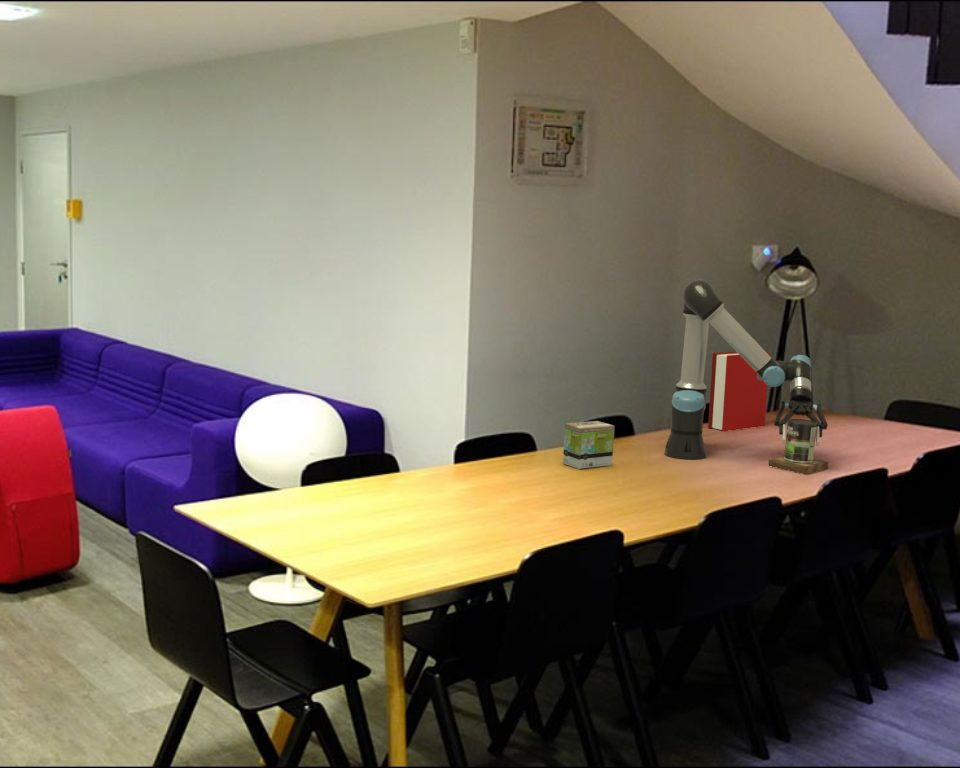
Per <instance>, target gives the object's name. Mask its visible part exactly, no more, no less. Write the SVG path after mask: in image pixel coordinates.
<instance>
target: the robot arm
mask: <svg viewBox="0 0 960 768" xmlns="http://www.w3.org/2000/svg"><path fill="white" fill-rule="evenodd" d="M717 293H718V292H717V288H716V286H715V285H714V284H713V282H712V281H710V280H709V279H706V278H702V277H701V278H695V279H693V280H691V281H689V282H688V283H687V285H686V287H685V288H684V290H683V295H682V296H683V297H682V298H683V305H682V315H683V316H684V317H685V330H684V338H683V339H684V340H683V350H682V351H683V352H682V361H681V369H680V370H681V373H680V380H679V381H678V382H677V383H676V385H675V390H674V391H675V392H674V393H673V395H672V399H671V404H672V405H671V416H670V417H671V418H670V420H671V421H670V434H669V436H668V439H667V441H666V444H665V446H664V455H665V456H666V457H667V456H668V457H670V458H675V459H683V460H699V459H703V458H705V457H707V456H706V455H707V449H706V446H705V441H704V437H703V429H704V428H703V427H704V415H705V414H704V413H705V410H706V407H707V406H706V405H707V402H706V401H707V400H706V399H707V389H708V387H707V386H706V384H705V382H704V381H705V379H704V377H705V369H706V368H705V367H706V360H707V359H706V358H707V357H706V356H707V348H708V347H707V346H708V338H709V326H710V325H711V326H712V328H713V329H714V330H715V331H716V332H717V333H718V334H719V335H720V336H721V337H722V338H723V339H724V340H725V341H726V342H727V344H729V346H730V347H731V348H733V350H735V351H734V352H737V353H738V354H739V355H740V356H741V357H742V358H743V359H744V360H745V361H746V362H747V363H748V364H749V365H750V366H751V367H752V368H753V369H754V370H755V371H756V372H757V379H758V380H763V381H764V382H765V383H766V384H767V385H768V386H767V387H771V388H776V387H780V386H781V385H782V384H783V383H784V382H789V402H786V401H783V400H782V401H781V404H780V408H779V410H778V412H777V415H776V417H775V419H774V421H773V422H774V423H773V426H774V427H778V429H779V430H778V431H779V432H778V433H779V435H781V438H782V439H781V444H782V445H783V444H786V425H787V424H788V422H787V420H789V419H792V417H793V416H795V415H796V416H806V417H807V419H808V420H811V421H814V422H817V429H816V438H815V446H816V447H819V445H820V438H822V437H823V431H824V430H826V431H827V430H828V425H829V424H828V422H827V420H826V418H825V416H824V413H823V410H822V408H821V406H822V405H821V403H817V404H813V402H812V361H811V359H810V358H809V357H808V356H807V355H803V354H797V355H794V356H792V357H791V359H790V360H788V361H783V360H774V359H773V358H772V357H771V356H769V355H768V354H767V353H766V352H765V351H766V350H765V349H764V348H763V347H762V346H761V345H760V344H759V343H758V342H757V341H756V340H755V338H753V337H752V336H751V334H749V332H748V331H746V329H744V327H743V326H742V325H741V324H740V323H739V322H738V321H737V320H736V319H735V318H734V317H733V316H732V315H731V314H730V313H729V311H727V309H726V308H725V307H724V306H725V305H724V304H725V303H724V302H723V301H722V300H721V299H720V297H718V294H717ZM787 408H789V411H788V412H787V414H785V416H784V417H782V416H783V414H784V413H785V410H787ZM812 409H813V410H814V412H816V414H817V416H816V415H815V414H814V413H813V411H812ZM781 419H782V420H781Z"/></svg>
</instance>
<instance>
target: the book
mask: <svg viewBox="0 0 960 768" xmlns="http://www.w3.org/2000/svg"><path fill="white" fill-rule="evenodd" d="M764 351H765V352H766V353H767V354H768V355H769V356H770V355H771V351H766V350H764ZM770 357H771V356H770ZM711 360H712V361H711V372H710V373H711V374H710V375H711V376H710V389H709V390H710V391H709V393H710V394H709V405H708V406H709V407H708V408H709V409H708V421H707V422H708V424H707V429H716V430H721V432H722V431H724V432H729V431H728V430H732V431H737V430H736V429H740V430H744V429H743V428H748V429H751V428H750V427H756V428H759V427H758V426H764V427H765V426H766V425H765V424H766V413H767V395H768V387H769V386H768V385H767V384H766V383H765V382H764V381H763V380H758V379H757V372H756V371H755V370H754V369H753V368H752V367H751V366H750V365H749V364H748V363H747V362H746V361H745V360H744V359H743V358H742V357H741V356H740V355H739V354H738V353H737V352H736V351H723V352H721V351H720V352H712V359H711Z"/></svg>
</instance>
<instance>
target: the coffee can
mask: <svg viewBox="0 0 960 768" xmlns="http://www.w3.org/2000/svg"><path fill="white" fill-rule="evenodd" d="M786 425H787V426H786V434H785V446H784V453H783V456H784V459H785V460H787V461H790V462H796V463H812V462H813V459H814V457H815V448H816V447H815V446H816V429H817V422H814V421H811V420H810V419H803V418H790V419H789V420H787V424H786Z"/></svg>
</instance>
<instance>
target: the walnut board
mask: <svg viewBox="0 0 960 768" xmlns="http://www.w3.org/2000/svg"><path fill="white" fill-rule="evenodd" d="M768 465H769V466H772V467H771V468H773V467H777V468H781V469H780V470H782V469H785V470H784V471H786V470H789V471H788V472H791V471H794V472H793V473H796V472H799V473H798V474H800V473H803V474H802V475H805V474H806V475H809V473H810V474H813V473H812V472H814V473H817V472H816V471H818V472H821V471H825V470H828V469H829V461H825V460H822V459H821V460H820V459H817V458H813V462H812V463H796V462H790V461H787V460H785V459H784V455H783V456H779V457H774V458H771V459H768ZM768 465H767V466H768ZM777 468H776V469H777Z"/></svg>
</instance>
